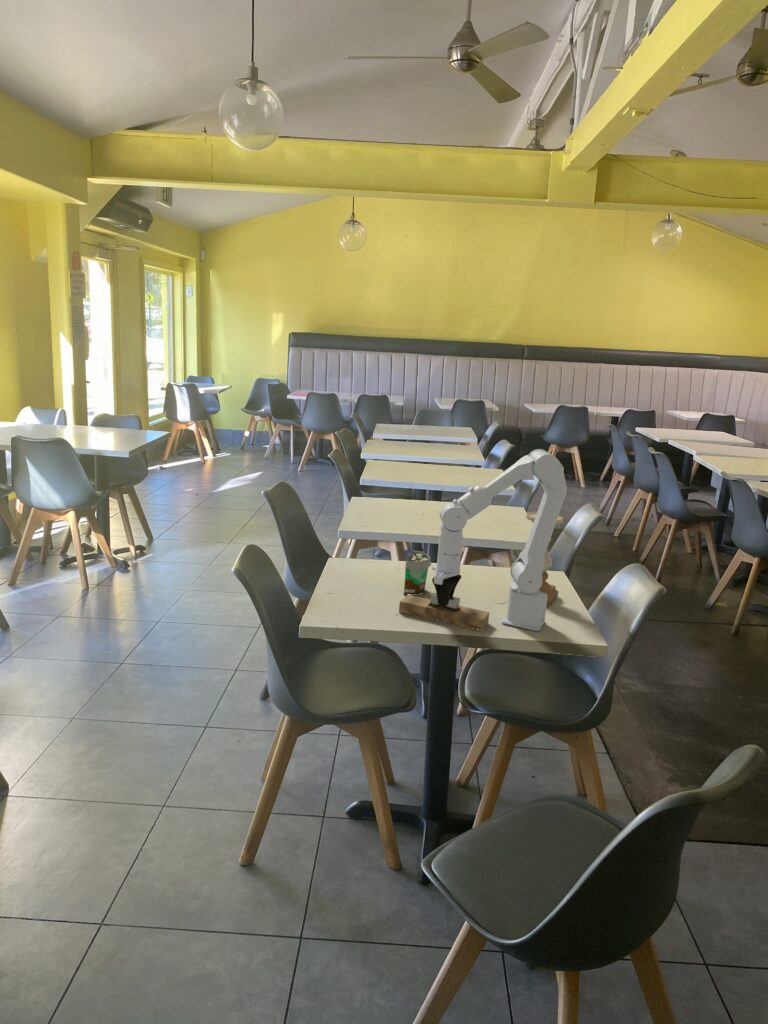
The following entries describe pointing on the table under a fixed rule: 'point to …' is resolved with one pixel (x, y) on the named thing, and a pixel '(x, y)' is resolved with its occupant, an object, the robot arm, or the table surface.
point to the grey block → (452, 602)
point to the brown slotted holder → (444, 612)
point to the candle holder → (546, 568)
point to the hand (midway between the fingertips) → (444, 603)
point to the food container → (416, 572)
